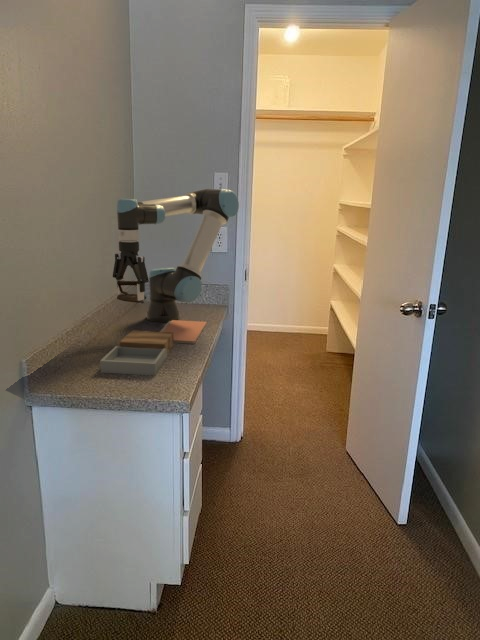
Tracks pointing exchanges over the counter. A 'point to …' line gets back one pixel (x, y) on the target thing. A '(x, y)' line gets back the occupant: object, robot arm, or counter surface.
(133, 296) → the clothes iron
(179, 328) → the notebook
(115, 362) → the bin
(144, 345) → the walnut stand
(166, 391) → the counter surface
